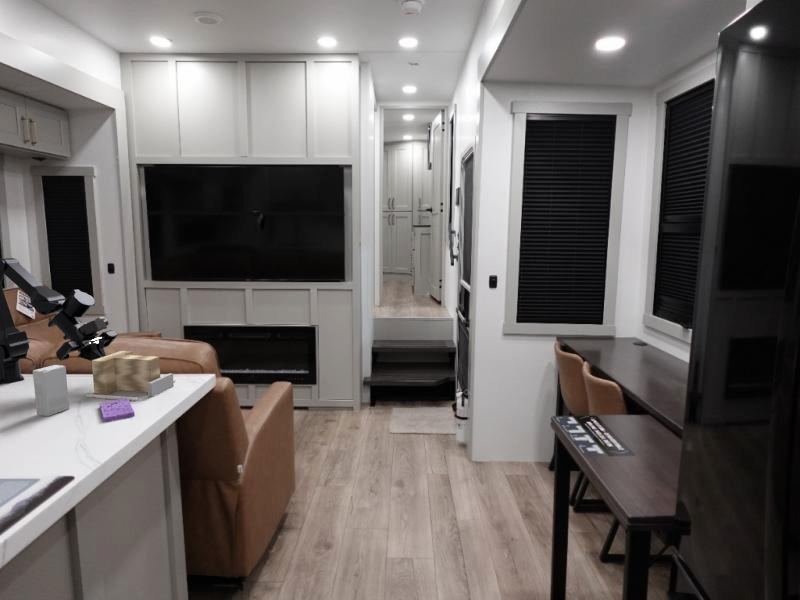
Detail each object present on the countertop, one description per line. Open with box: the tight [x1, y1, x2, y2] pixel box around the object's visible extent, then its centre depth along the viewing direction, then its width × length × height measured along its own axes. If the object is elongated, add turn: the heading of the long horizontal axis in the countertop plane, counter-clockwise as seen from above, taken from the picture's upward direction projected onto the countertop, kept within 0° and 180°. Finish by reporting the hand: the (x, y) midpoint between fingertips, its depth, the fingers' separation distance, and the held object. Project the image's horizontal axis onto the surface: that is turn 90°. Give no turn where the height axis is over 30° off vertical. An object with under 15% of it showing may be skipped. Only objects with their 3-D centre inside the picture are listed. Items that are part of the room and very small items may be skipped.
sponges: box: [99, 398, 135, 423], centre depth 130 cm, size 7×13×2 cm, turn 36°
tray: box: [86, 372, 176, 402], centre depth 148 cm, size 18×18×4 cm
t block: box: [91, 350, 161, 395], centre depth 147 cm, size 16×12×10 cm
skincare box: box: [32, 364, 70, 417], centre depth 128 cm, size 6×4×12 cm
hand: (107, 364), depth 148 cm, fingers closed, pressing on t block
